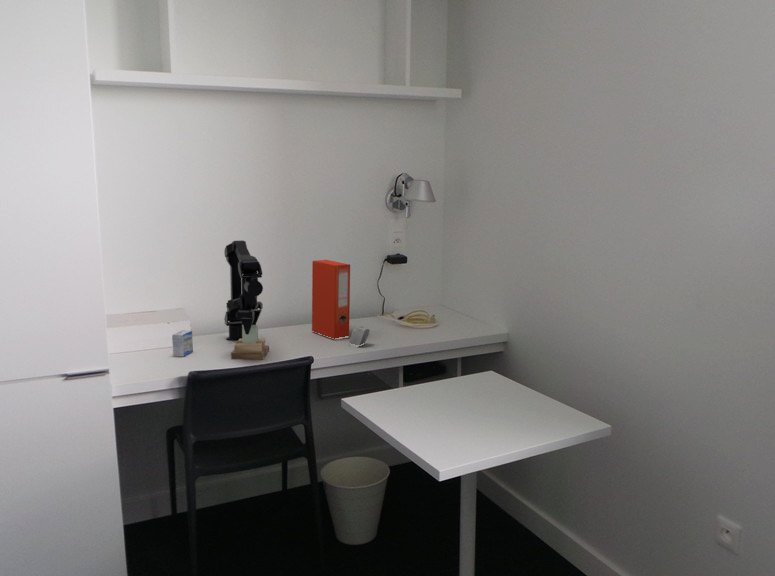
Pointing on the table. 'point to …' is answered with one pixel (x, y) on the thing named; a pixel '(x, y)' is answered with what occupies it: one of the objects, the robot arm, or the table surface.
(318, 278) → the file binder
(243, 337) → the sage block
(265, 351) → the walnut slab
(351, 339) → the mineral specimen
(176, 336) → the medicine box
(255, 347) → the oak slab
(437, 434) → the table surface
